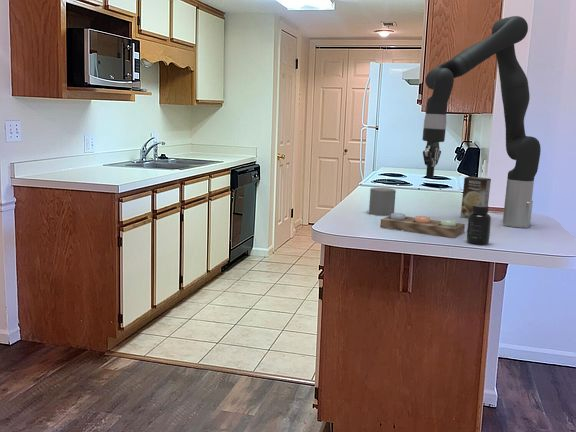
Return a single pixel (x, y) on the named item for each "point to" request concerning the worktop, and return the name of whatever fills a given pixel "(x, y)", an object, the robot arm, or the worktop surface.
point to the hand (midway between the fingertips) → (429, 177)
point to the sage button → (448, 223)
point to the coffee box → (474, 194)
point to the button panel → (423, 227)
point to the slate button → (398, 216)
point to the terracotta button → (422, 219)
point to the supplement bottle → (479, 225)
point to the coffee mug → (382, 201)
